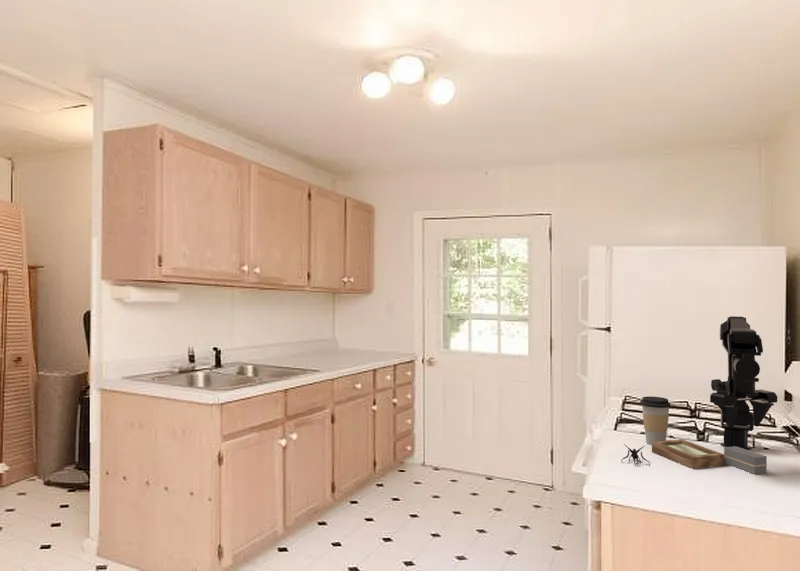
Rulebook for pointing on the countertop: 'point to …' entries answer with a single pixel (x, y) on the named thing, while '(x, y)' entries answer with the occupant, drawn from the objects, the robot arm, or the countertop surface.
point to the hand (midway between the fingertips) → (743, 427)
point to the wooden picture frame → (688, 453)
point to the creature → (634, 455)
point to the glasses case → (746, 460)
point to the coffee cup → (655, 418)
